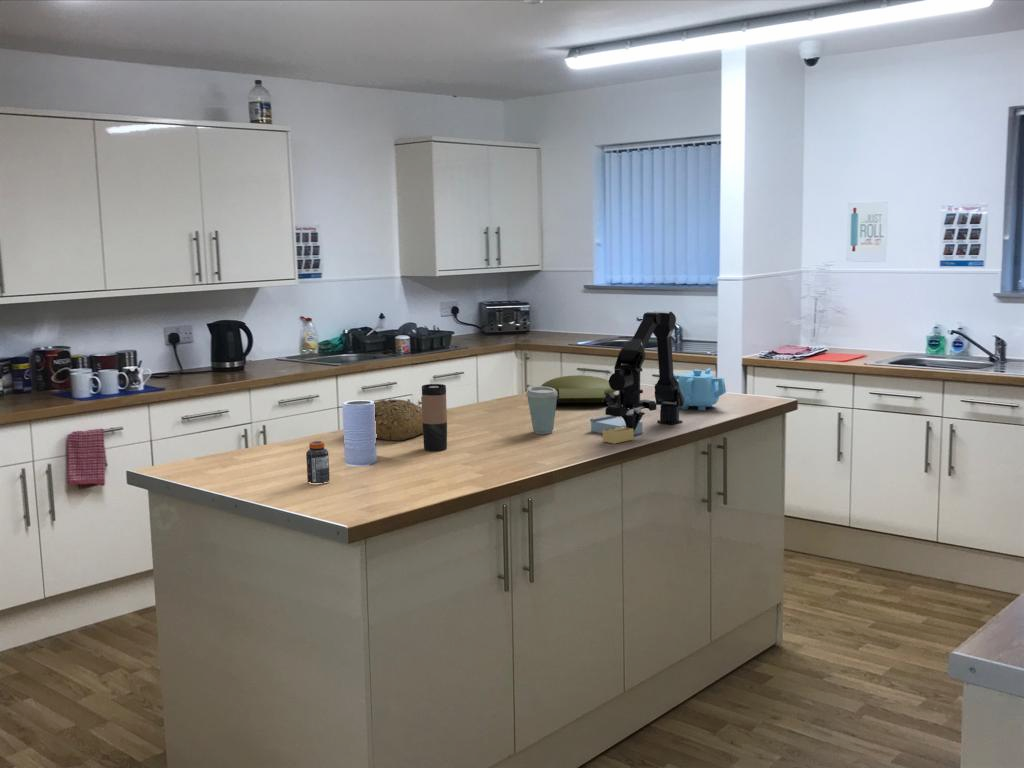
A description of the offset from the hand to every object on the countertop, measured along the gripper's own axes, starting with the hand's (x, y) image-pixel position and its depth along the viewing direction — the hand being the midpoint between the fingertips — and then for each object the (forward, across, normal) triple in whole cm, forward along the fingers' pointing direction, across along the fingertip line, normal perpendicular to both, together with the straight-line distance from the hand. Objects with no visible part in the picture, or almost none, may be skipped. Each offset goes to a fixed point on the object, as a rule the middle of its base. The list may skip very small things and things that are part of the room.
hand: (631, 434), depth 324 cm
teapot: (+1, -60, -20) cm, 63 cm away
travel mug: (+2, +55, -32) cm, 64 cm away
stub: (+1, +6, 0) cm, 6 cm away
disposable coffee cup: (+2, +14, -27) cm, 30 cm away
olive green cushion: (+2, -38, -61) cm, 72 cm away
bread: (+2, +52, -61) cm, 80 cm away
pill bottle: (+2, +103, -21) cm, 105 cm away
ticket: (+1, -4, -10) cm, 11 cm away
